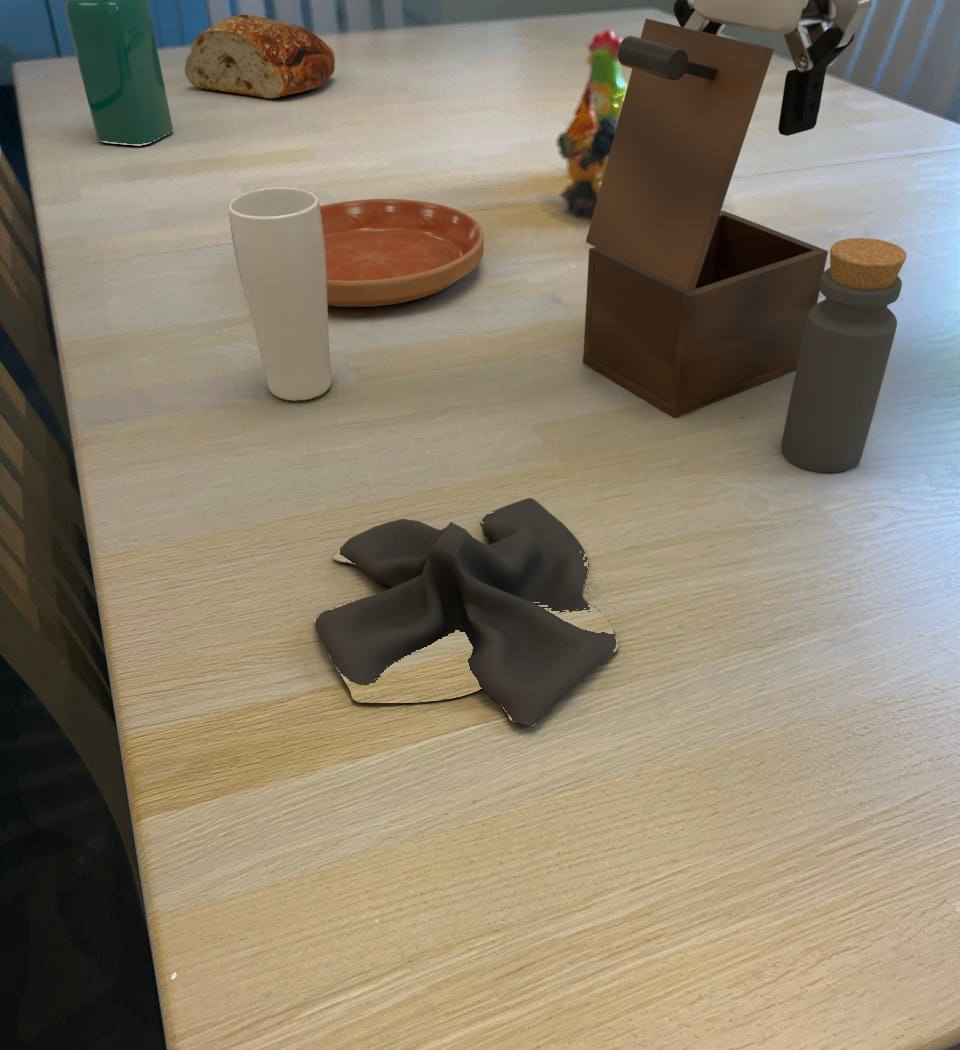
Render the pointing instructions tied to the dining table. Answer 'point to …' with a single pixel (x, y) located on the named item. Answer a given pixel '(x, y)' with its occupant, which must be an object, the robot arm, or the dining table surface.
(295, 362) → the drinking glass
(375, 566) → the cloth
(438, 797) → the dining table surface
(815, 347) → the bottle
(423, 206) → the saucer
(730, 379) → the wooden box
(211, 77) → the bread
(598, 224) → the box lid
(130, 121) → the pitcher
